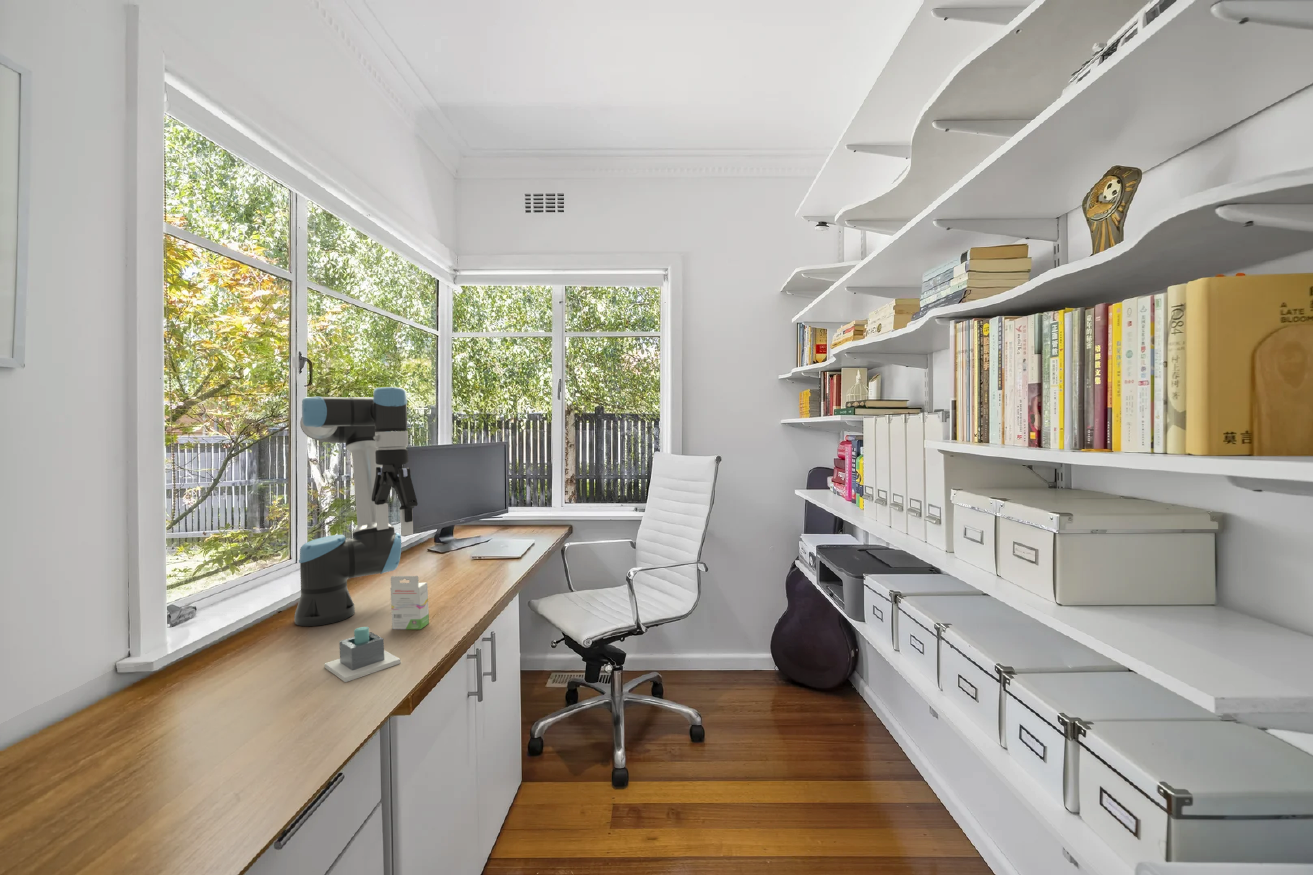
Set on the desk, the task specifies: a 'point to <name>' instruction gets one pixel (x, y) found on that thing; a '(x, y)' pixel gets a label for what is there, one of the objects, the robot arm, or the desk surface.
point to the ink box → (409, 603)
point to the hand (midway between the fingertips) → (394, 532)
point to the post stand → (348, 675)
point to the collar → (361, 652)
